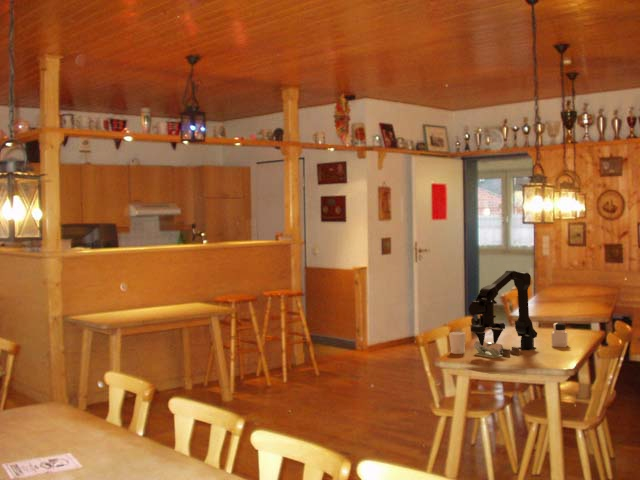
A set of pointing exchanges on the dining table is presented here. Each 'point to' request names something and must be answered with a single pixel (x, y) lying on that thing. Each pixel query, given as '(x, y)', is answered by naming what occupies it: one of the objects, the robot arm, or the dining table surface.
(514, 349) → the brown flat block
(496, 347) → the brown rounded bar
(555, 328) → the medicine bottle
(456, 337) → the white cup
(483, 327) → the robot arm
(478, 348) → the cradle
